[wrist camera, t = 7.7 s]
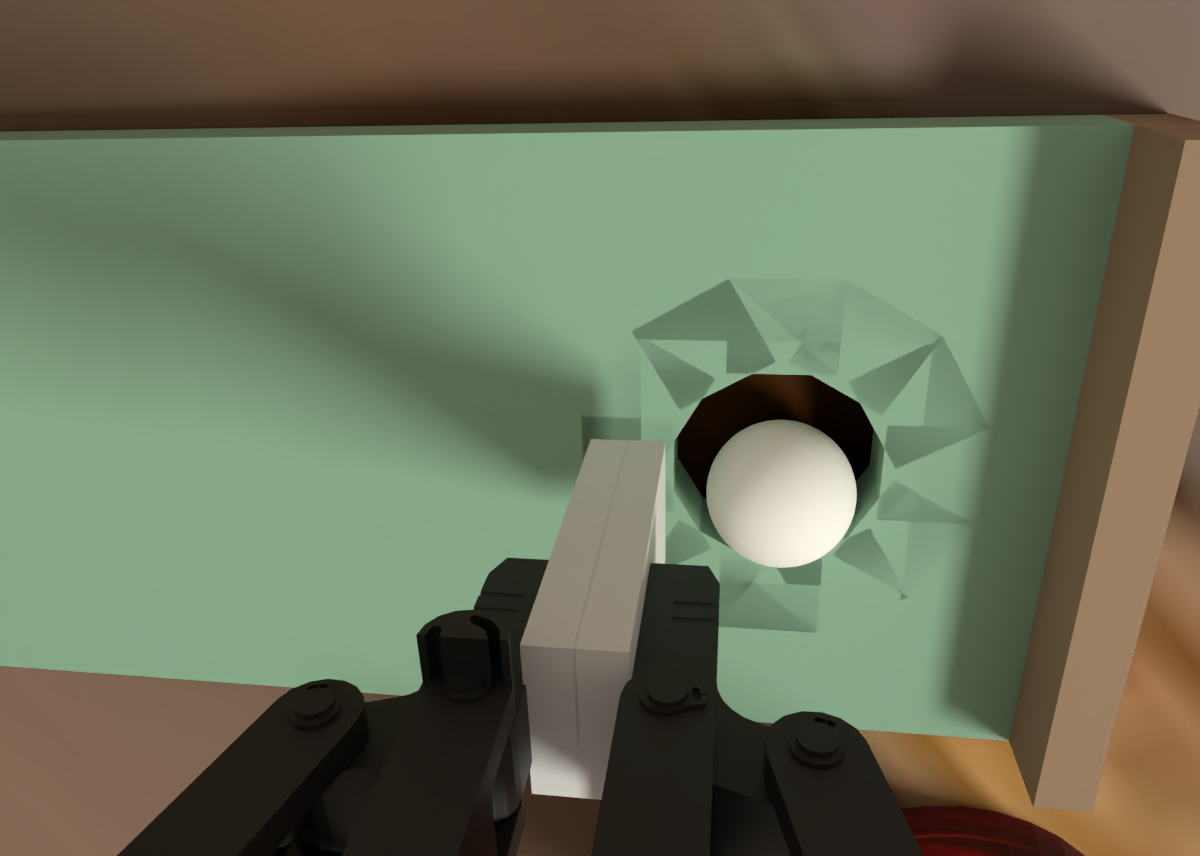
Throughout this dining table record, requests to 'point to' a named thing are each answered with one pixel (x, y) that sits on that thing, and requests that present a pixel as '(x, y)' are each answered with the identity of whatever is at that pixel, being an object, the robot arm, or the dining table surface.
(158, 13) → the dining table surface
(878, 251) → the board with hole
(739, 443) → the ball
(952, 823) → the mug
